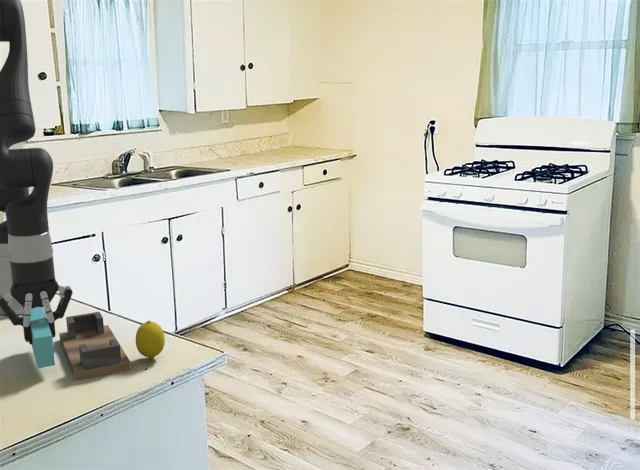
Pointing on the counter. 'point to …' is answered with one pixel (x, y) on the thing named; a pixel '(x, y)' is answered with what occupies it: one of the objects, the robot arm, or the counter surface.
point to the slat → (41, 338)
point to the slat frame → (92, 347)
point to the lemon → (150, 339)
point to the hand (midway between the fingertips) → (40, 340)
